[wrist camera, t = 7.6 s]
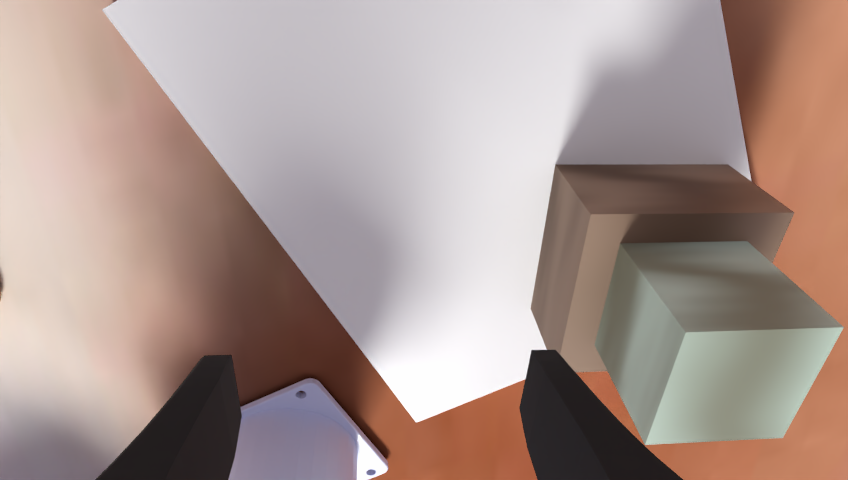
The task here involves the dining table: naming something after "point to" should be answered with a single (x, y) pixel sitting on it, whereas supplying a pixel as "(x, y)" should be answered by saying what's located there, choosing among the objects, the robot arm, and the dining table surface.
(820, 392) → the dining table surface
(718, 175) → the walnut plinth
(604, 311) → the sage cube
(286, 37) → the build board
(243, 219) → the dining table surface
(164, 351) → the dining table surface
